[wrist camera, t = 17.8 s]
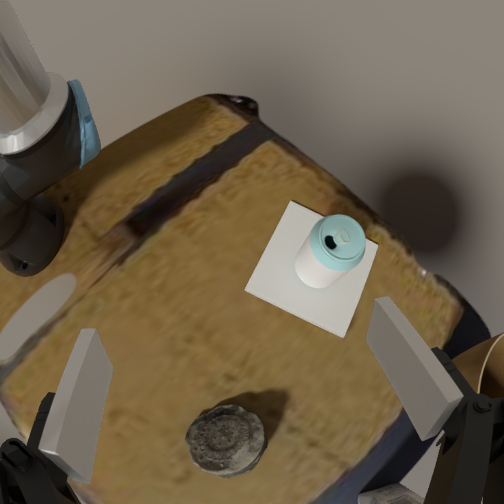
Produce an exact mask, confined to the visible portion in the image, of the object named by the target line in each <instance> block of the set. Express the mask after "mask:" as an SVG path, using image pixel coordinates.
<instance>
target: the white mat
mask: <svg viewBox="0 0 504 504" xmlns="http://www.w3.org/2000/svg"><path fill="white" fill-rule="evenodd" d="M322 218H324V217H323V216H321V215H319V214H317V213H315V212H313V211H311V210H309V209H307V208H305V207H303V206H301V205H298V204H296V203H294V202H292V201H290V203H289V205H288V207H287V208H286V210H285V212H284V214H283V216H282V218H281V220H280V222H279V224H278V226H277V228H276V230H275V232H274V234H273V236H272V238H271V240H270V242H269V243H268V245H267V247H266V249H265V251H264V253H263V255H262V257H261V259H260V261H259V263H258V265H257V267H256V269H255V271H254V272H253V274H252V276H251V278H250V280H249V282H248V284H247V286H246V288H245V291H247V292H249V293H251V294H253V295H255V296H257V297H259V298H261V299H263V300H265V301H267V302H269V303H271V304H273V305H275V306H277V307H279V308H281V309H283V310H285V311H287V312H289V313H291V314H293V315H295V316H298V317H300V318H302V319H304V320H306V321H308V322H310V323H312V324H314V325H316V326H318V327H321V328H323V329H325V330H327V331H329V332H331V333H333V334H335V335H338V336H340V337H342V338H344V336H345V333H346V331H347V329H348V326H349V324H350V321H351V319H352V316H353V314H354V311H355V309H356V306H357V304H358V301H359V299H360V296H361V293H362V291H363V288H364V285H365V283H366V280H367V277H368V274H369V271H370V269H371V266H372V263H373V260H374V257H375V254H376V251H377V248H378V245H377V244H375V243H373V242H371V241H370V240H368V239H366V245H365V253H364V256H363V258H362V260H361V262H360V263H359V264H358V265H357V266H356V267H354V268H353V269H352V270H351V271H349V272H348V273H347V274H345V275H344V276H343V277H341V278H340V279H339V280H337V281H336V282H335V283H333V284H332V285H330V286H328V287H326V288H313V287H310V286H308V285H306V284H305V283H304V282H303V281H302V280H301V279H300V278H299V276H298V275H297V272H296V269H295V258H296V255H297V253H298V251H299V250H300V248H301V247H302V245H303V243H304V242H305V240H306V238H307V237H308V235H309V233H310V232H311V230H312V228H313V227H314V225H315V224H316V223H317V222H318V221H319V220H320V219H322Z"/></svg>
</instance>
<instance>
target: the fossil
mask: <svg viewBox="0 0 504 504" xmlns="http://www.w3.org/2000/svg"><path fill="white" fill-rule="evenodd" d="M185 442H186V444H187V445H188V447H189V453H190V457H191V461H192V462H193V464H194V465H196V466H198V467H199V468H200V469H202V470H203V471H205V472H207V473H210V474H214V475H219V476H221V477H223V478H230V477H233V476H237V475H241V474H245V473H248V472H250V471H251V470H252V469H253V468H254V467H255V466H256V465H257V464H258V462H259V460H260V458H261V456H262V454H263V453H264V451H265V450H266V448H267V444H268V443H267V437H266V435H265V433H264V427H263V424H262V421H261V420H260V419H259V417H258V416H257V415H256V414H255V413H253V412H250V411H247V410H245V409H244V408H243V407H241V406H239V405H221V406H217V407H215V408H214V409H212V410H211V411H210V412H208V413H207V414H205V413H204V414H203V415H202V416H199V417H198V418H197V419H196V420H195V421H194V422H193V423H192V424H191V426H190V427H189V429H188V431H187V434H186V438H185Z"/></svg>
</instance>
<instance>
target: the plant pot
mask: <svg viewBox="0 0 504 504" xmlns="http://www.w3.org/2000/svg"><path fill="white" fill-rule="evenodd" d="M452 363H454V364H455V366H456V367H457V370H459V371H460V372H461V374H462V375H463V376H464V378H465V379H466V380H467V382H468V383H469V385H470V386H471V387H472V389H473V390H474V391H475V392H476V394H477V393H480V394H484V395H487V396H488V397H489V398H490V399H493V398H500V397H504V333H501V334H499V335H497V336H495V337H493V338H490V339H488V340H486V341H484V342H482V343H480V344H478V345H476V346H474V347H472V348H470V349H468V350H467V351H465V352H463V353H461V354H460V355H458V356H457V357H455V358H453V359H452Z"/></svg>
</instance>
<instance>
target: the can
mask: <svg viewBox="0 0 504 504" xmlns="http://www.w3.org/2000/svg"><path fill="white" fill-rule="evenodd" d="M365 245H366V238H365V234H364V231H363V229H362V227H361V226H360V225H359V223H358V222H357V221H355V220H354V219H353V218H351V217H349V216H346V215H341V214H337V215H331V216H327V217H324V218H322V219H320V220H319V221H318V222H317V223H316V224H315V225H314V227H313V228H312V230H311V232H310V233H309V235H308V237H307V238H306V240H305V242H304V243H303V245H302V247H301V248H300V250H299V251H298V253H297V255H296V258H295V269H296V272H297V275H298V276H299V278H300V279H301V280H302V281H303V282H304V283H305V284H306V285H308V286H310V287H313V288H326V287H328V286H330V285H332V284H333V283H335V282H336V281H337V280H339V279H340V278H341V277H343V276H344V275H345V274H347V273H348V272H349V271H351V270H352V269H353V268H354V267H356V266H357V265H358V264H359V263H360V262H361V260H362V258H363V256H364V253H365Z"/></svg>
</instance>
